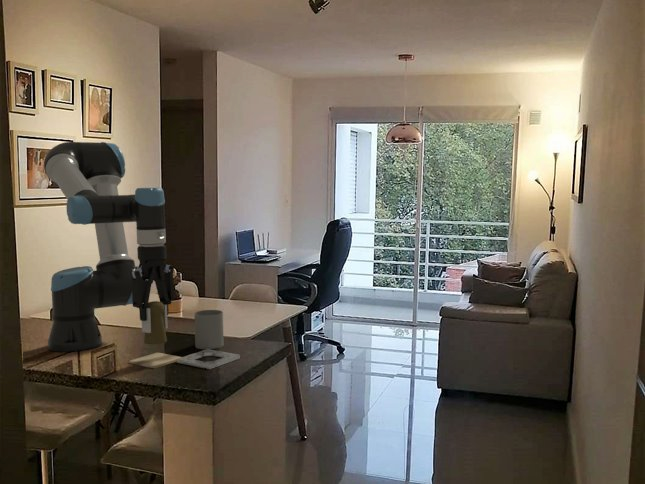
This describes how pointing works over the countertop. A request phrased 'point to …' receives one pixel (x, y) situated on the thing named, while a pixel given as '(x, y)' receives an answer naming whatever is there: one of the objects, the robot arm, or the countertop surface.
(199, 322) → the cup
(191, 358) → the plate
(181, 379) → the countertop surface
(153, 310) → the pepper shaker
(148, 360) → the coaster
